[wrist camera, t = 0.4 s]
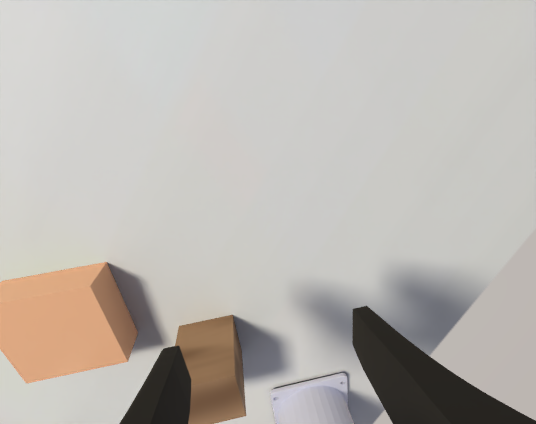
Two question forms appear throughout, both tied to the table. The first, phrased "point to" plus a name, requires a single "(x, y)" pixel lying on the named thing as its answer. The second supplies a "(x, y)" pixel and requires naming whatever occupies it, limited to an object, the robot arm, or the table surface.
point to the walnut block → (213, 370)
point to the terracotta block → (64, 322)
